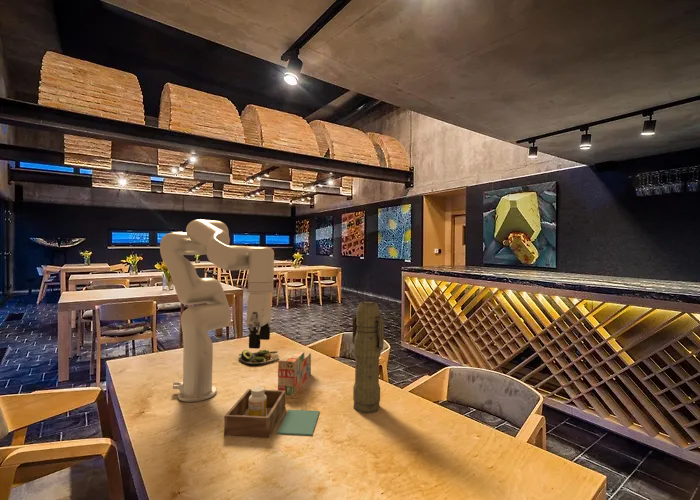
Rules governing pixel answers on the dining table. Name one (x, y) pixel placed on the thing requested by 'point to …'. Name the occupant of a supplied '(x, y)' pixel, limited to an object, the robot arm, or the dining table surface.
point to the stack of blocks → (293, 370)
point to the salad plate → (257, 357)
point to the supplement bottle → (257, 402)
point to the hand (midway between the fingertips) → (259, 343)
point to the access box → (254, 424)
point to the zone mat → (299, 422)
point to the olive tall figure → (367, 356)
